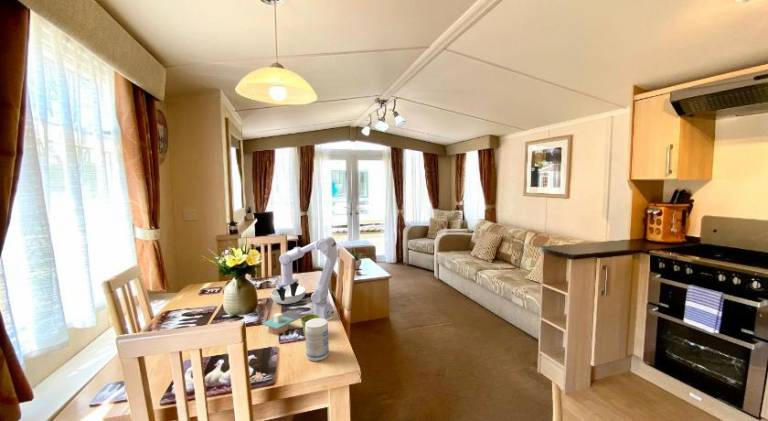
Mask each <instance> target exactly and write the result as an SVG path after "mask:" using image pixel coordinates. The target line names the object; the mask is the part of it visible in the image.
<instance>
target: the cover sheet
mask: <svg viewBox="0 0 768 421" xmlns="http://www.w3.org/2000/svg"><path fill="white" fill-rule="evenodd" d="M273 317H274V318H273ZM273 317H271V318H272V319H271V318H270V319H267V320H266V321H263V322H261V325H263V326H265V327H268V328H269V327H271V328H274V329H279V328H281V327H283V326H285V325H287V324H288V325H289V324H291V323H293V322H295V321H294V319H291V318H288V317H284V316H282V313H280V312H277V313H274V314H273Z"/></svg>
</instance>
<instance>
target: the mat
mask: <svg viewBox="0 0 768 421" xmlns="http://www.w3.org/2000/svg"><path fill="white" fill-rule="evenodd" d="M281 314H282V316H284V317H288V318H291V319H294V321H293V322H295V321H297V320H299V319H301V317H303V316H305V315H306V314H304V313H300V312H296V311H293V310H286V311H285V312H282V313H281ZM272 318H274V316H273V317H271V318H270V319H272Z"/></svg>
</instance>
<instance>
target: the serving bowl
mask: <svg viewBox="0 0 768 421" xmlns="http://www.w3.org/2000/svg"><path fill="white" fill-rule="evenodd" d="M283 288H284V289H286V291H285V300H284V301H282V300H281V298H280V295H279V293H278V292H277V290H276V287H275V288H273V289H272V290H271V291H270V293H269V294H270V297H271V300H272V301H274V302H275V303H277V304H282V305H289V304H294V303H298V302H300V301H301V300H302V299H303V298H304V297H305V295H306V292H307V291H306V290H307V289H306V288H305V287H304V286H301V285H298V287H297V290H296V293H295V296H291V288H290V285H288V286H285V287H283Z"/></svg>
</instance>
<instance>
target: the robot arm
mask: <svg viewBox="0 0 768 421" xmlns="http://www.w3.org/2000/svg"><path fill="white" fill-rule="evenodd" d="M337 245H338V244H337V242H336V240H335V239H334V238H333V237H331V236H327V237H326V238H322V239H318V240H316V241H313V242H310V243H309V244H307V245H305V246H303V247H301V246H295V247H293V249H291V250H287V251H286V252H284V253H282V254H281V255H279V257H278V260H279V262H280V264H281V266H280V268H281V282H280V283H279V284H276V285H275V288H276V290H277V292H278V293H279V295H280V298H281V300H282V301H284V300H285V291H286V289H284V288H283V287H285V286H290V288H291V296H295V293H296V290H297V287H298V286H300V284H299V278H293V277H294V276H293V274H294V273H293V261H296V260H298V259H300V258H303V256H304V255H305V253H308V252H310V251H312V250H317V251H320V252H321V253H322V254H323V255H325V257H326V260H325V264H324V267H323V269H322V273H321V275H320V278H319V281H318V284H317V286H316V287H315V289H314V292H312V294H311V296H310V299H311V301H312V305H313V306H312V307H313V314H317V315H319V316H320V318H323V319H326V320H327V321H328V320H329V319H330V318H332V317H333V314H332V313H333V312H332V311H333V310H332V304H331V303H329V302H328V300H327V297H328V296H329V284H330V280H331V278H332V274H333V271H334V269H335V266H336V264H337V259H338V257H339V255H338V249H337V248H338V247H337Z"/></svg>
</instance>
